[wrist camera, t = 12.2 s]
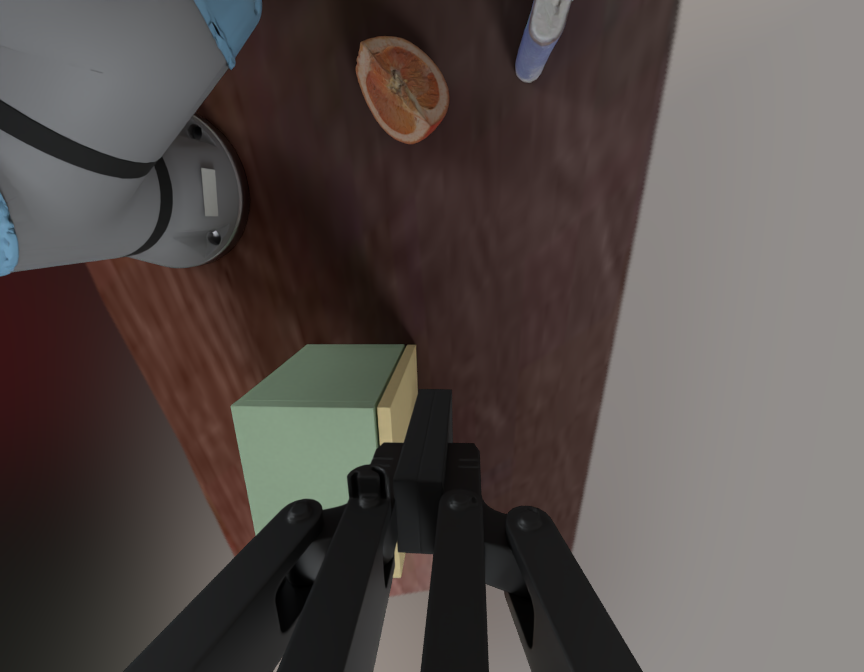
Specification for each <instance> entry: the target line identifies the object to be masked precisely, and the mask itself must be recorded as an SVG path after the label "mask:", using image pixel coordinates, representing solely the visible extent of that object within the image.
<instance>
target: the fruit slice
mask: <svg viewBox="0 0 864 672" xmlns="http://www.w3.org/2000/svg"><path fill="white" fill-rule="evenodd" d="M357 62H358V63H357V65H356V74H357V78H358V82H359V84H360V87H361V90H362V93H363V95H364V98H365V100H366V102H367V104H368V106H369V108H370V110H371V112H372V114H373V116H374V117H375V119H376V120H377V122H378V123H379V124H380V126H381V127H382V128H383V129H384V130H385V131H386V132H387V134H389V135H390V136H391V137H392V138H394V139H396V140H398V141H400V142H403V143H406V144H415V143H418V142H420V141H421V140H423V139H424V138H426V137H427V136H428V135H430V134H431V133H432V132H433V131H434V130H435V129H436V127H437V126H438V125H439V124H440V122H441V121H442V120H443V119H444V117H445V115H446V112H447V109H448V106H449V90H448V87H447V84H446V81H445V79H444V77H443V75H442V73H441V71H440V70H439V68H438V67H437V66H436V64H435V63H434V62H433V61H432V60H431V59H430V58H429V57H428V56H427V55H426V54H425V53H424V52H423V51H422V50H420V49H419V48H418V47H417V46H415V45H414V44H412V43H411V42H409V41H407V40H405V39H402V38H398V37H392V36H389V37H388V36H379V37H375V38H370V39H367V40H365V41H362V42H361V43H360V50H359V56H357Z"/></svg>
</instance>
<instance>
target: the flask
mask: <svg viewBox="0 0 864 672" xmlns="http://www.w3.org/2000/svg"><path fill="white" fill-rule="evenodd" d="M572 1H573V0H534V1H533V5H532V10H531V13H530V16H529V19H528V22H527V25H526V27H525V30H524V34H523V37H522V41H521V44H520V47H519V50H518V54H517V59H516V63H515V70H516V75H517V76H518V78H519V79H520V80H522V81H523V82H527V83H531V82H533V81H535V80H536V79H537V78H538V77H539V75H540V74H541V73H542V70H543V68H544V65H545V63H546V61H547V60H548V57H549V55H550V53H551V51H552V50H553V48H554V46H555V44H556V42H557V41H558V39H559V37H560V36H561V34H562V32H563V30H564V28H565V25H566V21H567V17H568V12H569V9H570V6H571V2H572Z"/></svg>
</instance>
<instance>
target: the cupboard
mask: <svg viewBox="0 0 864 672" xmlns="http://www.w3.org/2000/svg"><path fill="white" fill-rule="evenodd" d="M404 350H405V345H404V344H307V345H306V346H305V347H303V348H302V349H301V350H300V351H298V352H297V353H296V354H295V355H294V356H292V357H291V358H290V359H289V360H287V361H286V362H285V363H284V364H282V365H281V366H280V367H279V368H277V369H276V370H275V371H274V372H273V373H271V374H270V375H269V376H268V377H266V378H265V379H264V380H263V381H261V382H260V383H259V384H258V385H256V386H255V387H254V388H253V389H251V390H250V391H249V392H248V393H247V394H245V395H244V396H243V397H242V398H240V399H239V400H238V401H236V402H235V403H234V404H233V405H231V411H232V416H233V421H234V426H235V431H236V437H237V442H238V447H239V452H240V457H241V462H242V467H243V473H244V478H245V483H246V488H247V493H248V498H249V503H250V509H251V514H252V519H253V524H254V529H255V534H256V535H257V534H258V533H259V532H260V531H261V530H262V529H263V528H264V527H265V526H266V525H267V524H268V523H269V522H270V521H271V520H272V519H273V518H274V517H275V516H276V515H277V514H278V512H279V511H280V510H281V509H283V508H284V507H285V506H286V505H288V504H289V503H292V502H294V501H296V500H301V499H314V500H316V501H318V502H319V503H320V504H321V505H322V509H323V510H324V509H329V508H334V507H338V506H341V505H344V504H346V503H347V502H348V500H349V493H348V484H347V475H348V474H349V473H350V471H352V470H353V469H355V468H356V467H359V466H362V465H367V464H370V463H371V461H372V460H373V456H374V453H375V451H376V449H377V448H378V447H379V446H380V442H379V428H378V414H377V407H378V404H379V402H380V400H381V398H382V396H383V394H384V392H385V390H386V388H387V386H388V384H389V381H390V379H391V377H392V375H393V373H394V371H395V369H396V367H397V365H398V363H399V360H400V358H401V356H402V354H403V352H404Z"/></svg>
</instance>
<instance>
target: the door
mask: <svg viewBox="0 0 864 672" xmlns="http://www.w3.org/2000/svg"><path fill="white" fill-rule="evenodd" d="M417 395H418V384H417V358H416V345H407V346H406V348H405V350H404V352H403V354H402V356H401V358H400V360H399V363H398V365H397V367H396V369H395V371H394V373H393V375H392V377H391V379H390V381H389V384H388V386H387V388H386V390H385V392H384V394H383V396H382V398H381V400H380V402H379V404H378V407H377V414H378V428H379V442H380V445H382V444H383V443H384V442H395V443H404V440H405V436H406V433H407V429H408V426H409V422H410V419H411V416H412V412H413V409H414V405H415V402H416V398H417ZM394 554H395V569H394V574H393V578H401V574H402V569H403V563H404V558H405V553H400V552H398V549H397V543H396V548H395V552H394Z"/></svg>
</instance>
